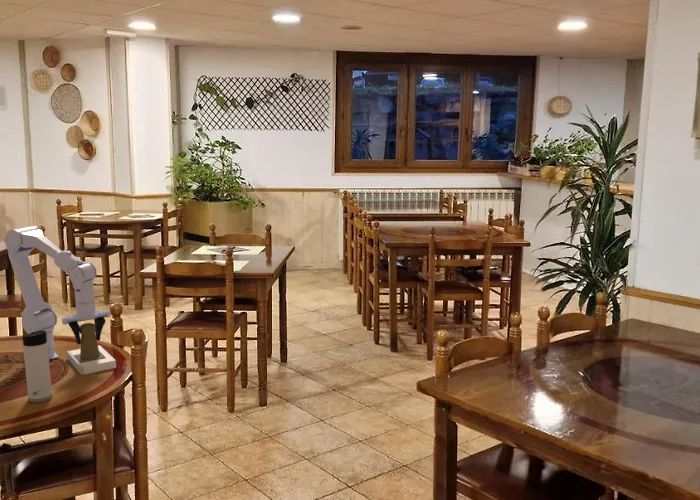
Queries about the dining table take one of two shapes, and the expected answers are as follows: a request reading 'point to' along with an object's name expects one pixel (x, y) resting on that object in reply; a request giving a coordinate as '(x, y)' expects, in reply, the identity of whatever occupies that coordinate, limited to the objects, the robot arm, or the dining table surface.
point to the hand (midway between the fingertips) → (88, 341)
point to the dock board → (91, 362)
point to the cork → (88, 342)
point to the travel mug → (37, 366)
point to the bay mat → (90, 359)
